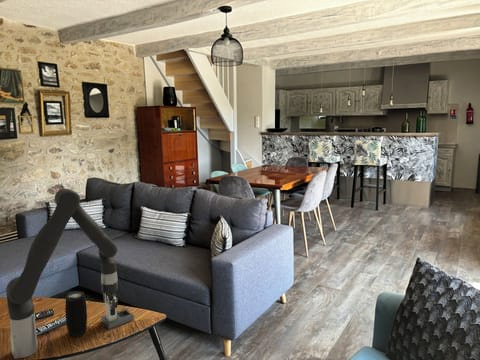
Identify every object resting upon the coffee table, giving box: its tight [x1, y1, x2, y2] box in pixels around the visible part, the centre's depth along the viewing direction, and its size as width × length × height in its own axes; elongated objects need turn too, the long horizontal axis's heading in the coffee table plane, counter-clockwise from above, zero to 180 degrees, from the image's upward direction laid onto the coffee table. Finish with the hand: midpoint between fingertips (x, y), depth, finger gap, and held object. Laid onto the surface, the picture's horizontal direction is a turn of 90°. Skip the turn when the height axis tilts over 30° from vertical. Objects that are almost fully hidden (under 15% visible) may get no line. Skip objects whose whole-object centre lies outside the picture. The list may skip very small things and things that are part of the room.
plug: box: [104, 301, 118, 322], centre depth 182 cm, size 5×4×10 cm
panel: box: [100, 308, 135, 330], centre depth 185 cm, size 13×10×3 cm
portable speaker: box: [64, 290, 88, 338], centre depth 172 cm, size 9×9×20 cm
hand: (111, 313), depth 182 cm, fingers closed on plug, 4 cm apart
